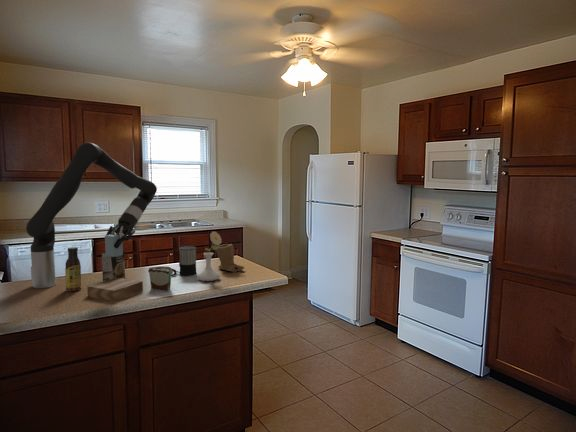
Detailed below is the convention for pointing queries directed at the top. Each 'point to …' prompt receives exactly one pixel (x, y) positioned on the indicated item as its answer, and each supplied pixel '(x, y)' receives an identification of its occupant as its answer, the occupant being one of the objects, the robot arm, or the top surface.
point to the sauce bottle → (73, 270)
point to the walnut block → (115, 289)
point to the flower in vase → (208, 272)
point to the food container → (160, 278)
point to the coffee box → (113, 267)
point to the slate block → (110, 248)
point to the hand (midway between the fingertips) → (110, 246)
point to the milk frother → (186, 261)
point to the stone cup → (227, 258)
